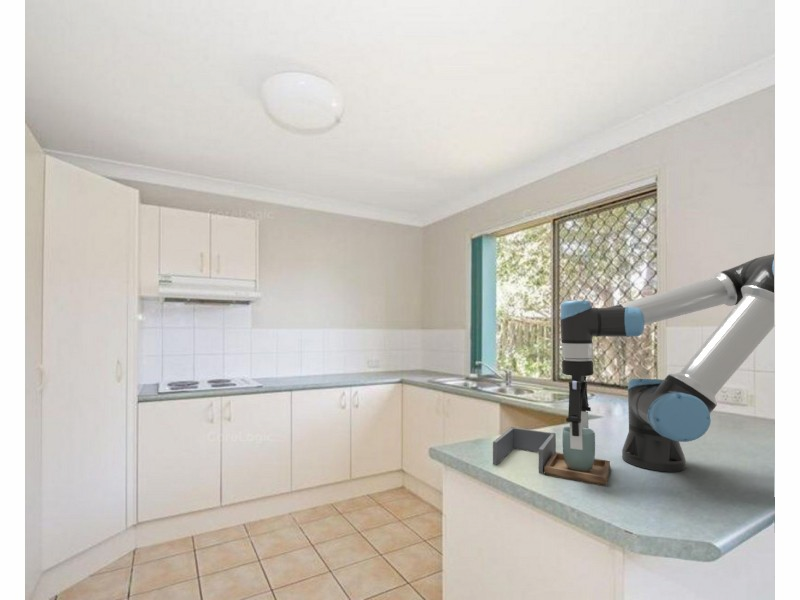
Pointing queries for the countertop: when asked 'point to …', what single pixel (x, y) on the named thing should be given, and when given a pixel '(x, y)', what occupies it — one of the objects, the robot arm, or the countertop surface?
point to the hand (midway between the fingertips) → (580, 442)
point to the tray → (593, 476)
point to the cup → (576, 457)
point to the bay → (525, 444)
